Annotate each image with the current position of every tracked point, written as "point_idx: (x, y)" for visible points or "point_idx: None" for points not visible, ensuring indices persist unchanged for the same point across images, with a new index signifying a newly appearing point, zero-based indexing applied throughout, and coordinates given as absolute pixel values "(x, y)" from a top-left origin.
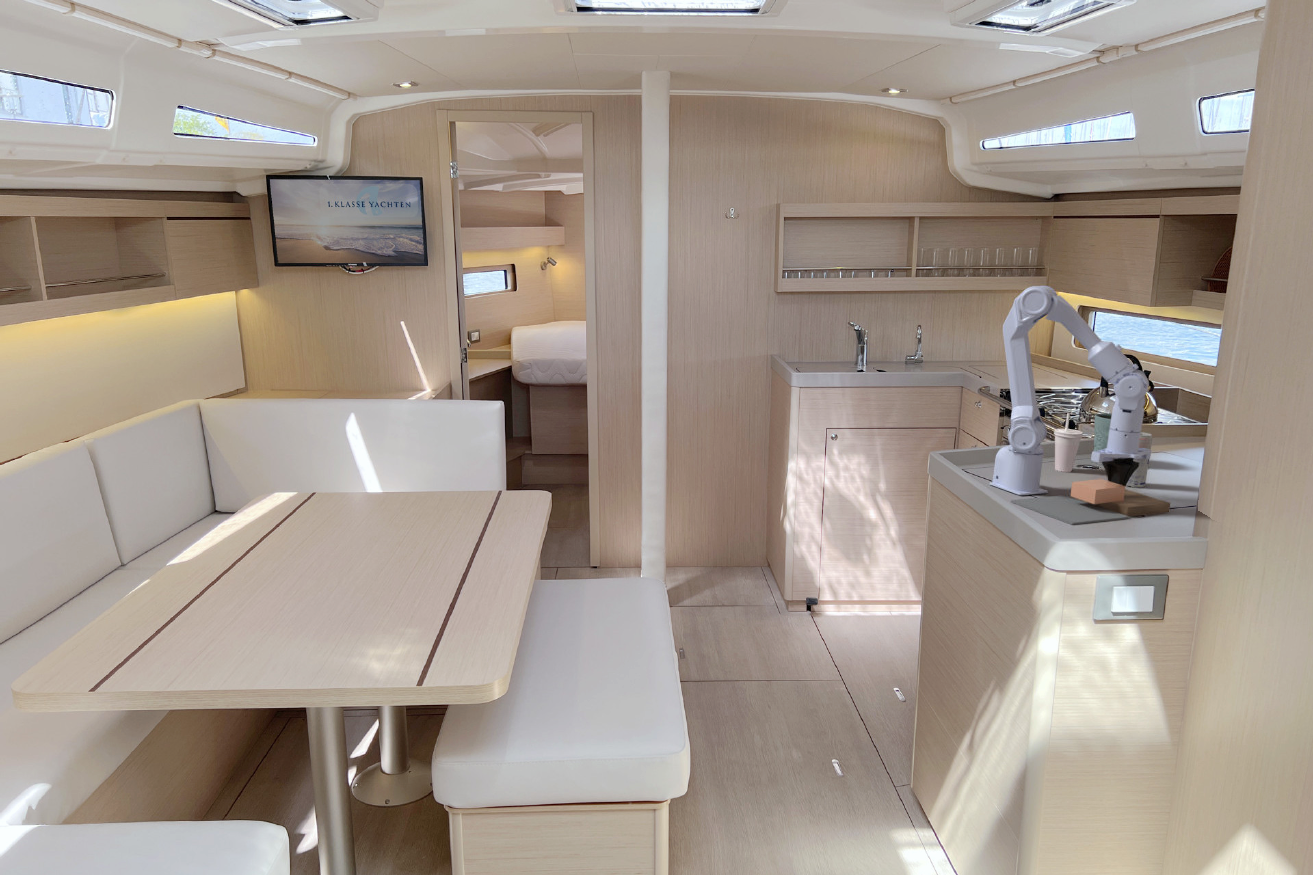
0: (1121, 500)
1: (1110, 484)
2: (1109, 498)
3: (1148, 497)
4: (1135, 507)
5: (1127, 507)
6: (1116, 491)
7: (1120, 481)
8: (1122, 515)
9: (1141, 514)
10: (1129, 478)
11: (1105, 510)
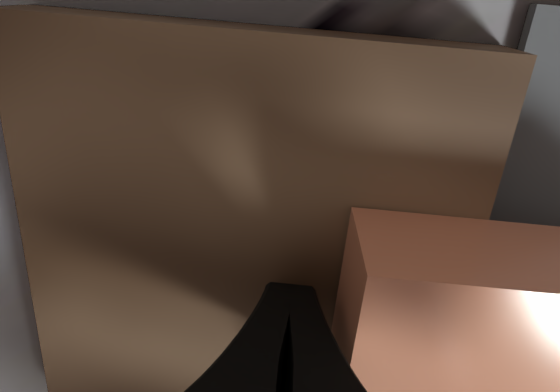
0: (374, 210)
1: (441, 367)
2: (527, 238)
3: (46, 194)
4: (431, 45)
5: (535, 57)
6: (474, 262)
7: (344, 360)
8: (552, 52)
9: (335, 31)
10: (215, 363)
11: (528, 191)
